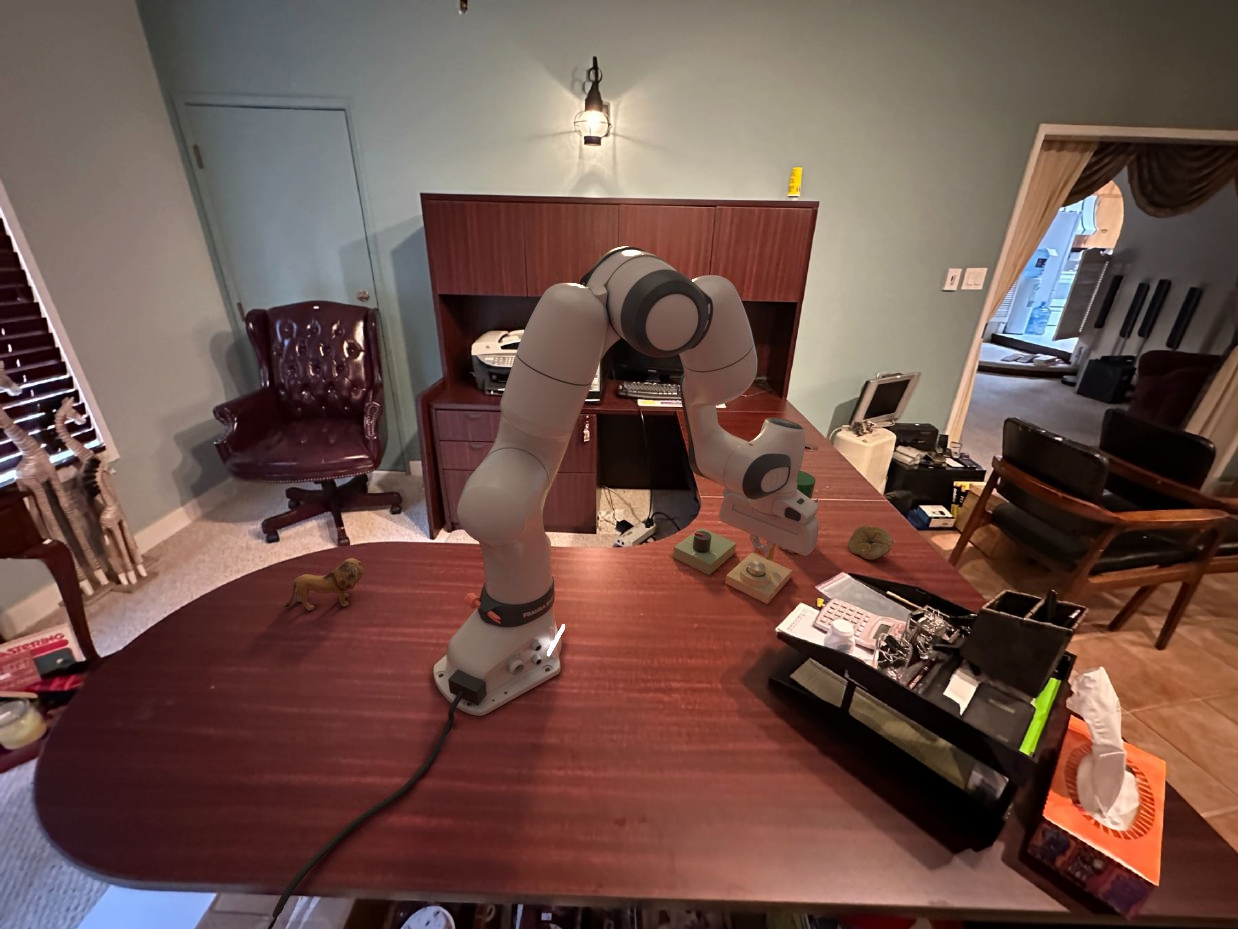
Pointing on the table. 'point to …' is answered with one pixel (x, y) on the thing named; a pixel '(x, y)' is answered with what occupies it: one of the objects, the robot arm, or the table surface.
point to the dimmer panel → (705, 561)
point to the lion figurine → (328, 583)
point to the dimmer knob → (702, 541)
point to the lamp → (804, 486)
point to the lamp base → (759, 578)
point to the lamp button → (756, 569)
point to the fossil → (870, 542)
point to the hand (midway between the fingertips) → (760, 554)
